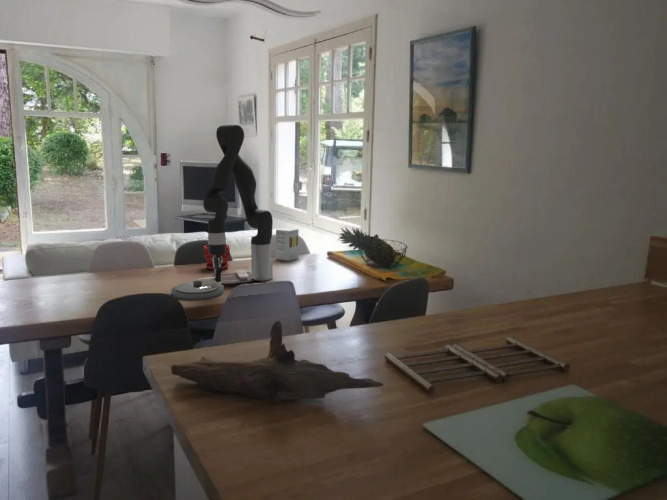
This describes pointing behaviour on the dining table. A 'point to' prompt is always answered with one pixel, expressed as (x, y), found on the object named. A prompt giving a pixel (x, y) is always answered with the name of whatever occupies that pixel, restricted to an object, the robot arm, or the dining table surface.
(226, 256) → the plant pot
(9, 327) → the dining table surface
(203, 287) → the dial
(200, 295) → the dial base
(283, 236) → the supplement box
